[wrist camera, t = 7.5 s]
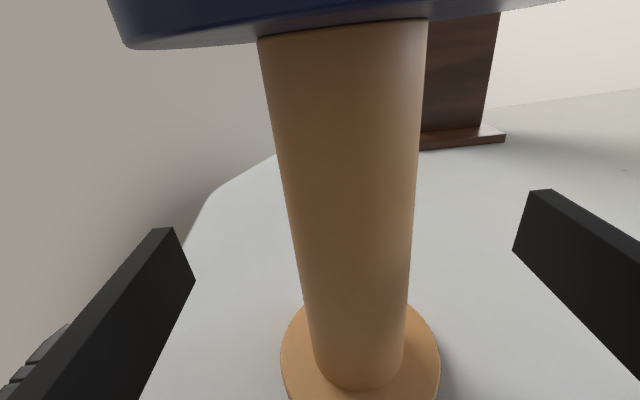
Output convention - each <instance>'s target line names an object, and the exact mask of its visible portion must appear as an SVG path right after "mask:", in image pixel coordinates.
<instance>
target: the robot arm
mask: <svg viewBox="0 0 640 400" xmlns="http://www.w3.org/2000/svg"><path fill="white" fill-rule="evenodd" d="M512 251H513V252H514V253H515V254H516V255H517V256H518V257H519V258H520V259H521V260H522V261H523V262H524V263H525V264H526V265H527V266H528V268H529V269H530V270H531V271H532V272H533V273H534V274H535V275H536V276H537V277H538V278H539V279H540V280H541V281H542V282H543V283H544V284H545V285H546V286H547V287H548V288H549V289H550V290H551V291H552V292H553V293H554V294H555V295H556V296H557V297H558V298H559V299H560V300H561V301H562V302H563V303H564V304H565V305H566V306H567V307H568V308H569V310H570V311H571V312H572V313H573V314H574V315H575V316H576V317H577V318H578V319H579V320H580V321H581V322H582V323H583V324H584V325H585V326H586V327H587V328H588V329H589V330H590V331H591V332H592V333H593V334H594V335H595V336H596V337H597V338H598V339H599V340H600V341H601V342H602V343H603V344H604V345H605V346H606V347H607V348H608V349H609V350H610V351H611V353H612V354H613V355H614V356H615V357H616V358H617V359H618V360H619V361H620V362H621V363H622V364H623V365H624V366H625V367H626V368H627V369H628V370H629V371H630V372H631V373H632V374H633V375H634V376H635V377H636V378H637V379H638V380H639V381H640V242H639V241H637V240H636V239H634V238H632V237H631V236H629V235H627V234H626V233H624V232H622V231H621V230H619V229H617V228H616V227H614V226H612V225H611V224H609V223H607V222H606V221H604V220H602V219H601V218H599V217H597V216H596V215H594V214H592V213H591V212H589V211H587V210H586V209H584V208H583V207H581V206H579V205H578V204H576V203H574V202H573V201H571V200H569V199H568V198H566V197H564V196H563V195H561V194H559V193H558V192H556V191H554V190H553V189H543V190H533V191H530V192H529V195H528V198H527V202H526V205H525V208H524V212H523V215H522V218H521V221H520V225H519V228H518V231H517V235H516V238H515V241H514V245H513V248H512ZM195 282H196V279H195V277H194V275H193V272H192V270H191V268H190V266H189V263H188V261H187V259H186V256H185V254H184V252H183V249H182V247H181V245H180V242H179V240H178V238H177V236H176V233H175V231H174V229H173V227H165V228H155V229H152V230H151V231H150V232H149V234H148V235H147V236H146V237H145V238H144V239H143V240H142V242H141V243H140V244H139V245H138V246H137V247H136V249H135V250H134V251H133V252H132V253H131V254H130V256H129V257H128V258H127V259H126V260H125V261H124V263H123V264H122V265H121V266H120V267H119V268H118V270H117V271H116V272H115V273H114V274H113V275H112V277H111V278H110V279H109V280H108V281H107V282H106V284H105V285H104V286H103V287H102V288H101V289H100V291H99V292H98V293H97V294H96V295H95V296H94V298H93V299H92V300H91V301H90V302H89V303H88V305H87V306H86V307H85V308H84V309H83V310H82V312H81V313H80V314H79V315H78V317H76V319H75V320H74V321H73V322H72V323H71V324H66V325H64V326H63V327H62V328H61V329H59V330H58V331H57V332H55V333H54V334H53V335H52V336H50V337H49V338H48V339H47V340H45V341H44V342H43V343H42V344H41V346H39V348H38V349H37V350H36V351H35V352H34V353H33V354H32V355H31V357H30V358H29V359H28V360H27V361H26V364H25V366H23V367H21V368H20V369H19V370H18V371H17V372H16V373H15V374H14V376H13V377H12V378H11V379H10V380H9V381H10V382H9V384H8V385H5V386H4V387H3V388H2V389H1V390H0V400H139V397H140V395H141V393H142V391H143V389H144V387H145V385H146V383H147V381H148V379H149V377H150V375H151V373H152V371H153V369H154V366H155V364H156V362H157V360H158V358H159V356H160V354H161V352H162V350H163V348H164V346H165V344H166V342H167V340H168V338H169V335H170V333H171V331H172V329H173V327H174V325H175V323H176V321H177V319H178V317H179V315H180V313H181V311H182V309H183V307H184V304H185V302H186V300H187V298H188V296H189V294H190V292H191V290H192V288H193V286H194V284H195Z"/></svg>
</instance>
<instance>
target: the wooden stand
mask: <svg viewBox="0 0 640 400" xmlns="http://www.w3.org/2000/svg"><path fill="white" fill-rule="evenodd" d="M500 16H501V12H496V13H489V14H483V15H476V16H469V17H462V18H455V19H448V20H441V21H434V22H429V23H428V36H427V49H426V62H425V75H424V88H423V101H422V114H421V127H420V140H419V151H420V150H430V149H439V148H449V147H458V146H467V145H477V144H486V143H496V142H504V141H505V137H506V134H505V133H503V132H501V131H499V130H496V129H494V128H492V127H490V126H488V125H485V124H483V123H481V120H482V115H483V109H484V104H485V98H486V93H487V87H488V82H489V76H490V71H491V65H492V60H493V54H494V48H495V43H496V37H497V31H498V26H499V21H500Z"/></svg>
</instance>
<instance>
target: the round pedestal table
mask: <svg viewBox="0 0 640 400" xmlns="http://www.w3.org/2000/svg"><path fill="white" fill-rule="evenodd" d="M559 1H564V0H107V3H108V5H109V8H110V11H111V13H112V15H113V18H114V21H115V23H116V26H117V29H118V31H119V34H120V36H121V38H122V41H123V43H124V44H125V45H126V47H128V48H130V49H134V50H167V49H183V48H198V47H210V46H222V45H234V44H245V43H255V42H256V44H257V49H258V55H259V60H260V65H261V71H262V76H263V82H264V87H265V92H266V98H267V104H268V109H269V114H270V120H271V125H272V131H273V136H274V142H275V147H276V153H277V158H278V163H279V169H280V174H281V180H282V185H283V191H284V196H285V202H286V207H287V212H288V218H289V223H290V229H291V234H292V240H293V245H294V250H295V256H296V261H297V267H298V272H299V278H300V283H301V288H302V294H303V299H304V306H303V307H302V308H301V309H300V310H299V311H298V312H297V313H296V315H295V316H294V317H293V319H292V320H291V322H290V324H289V325H288V328H287V330H286V332H285V335H284V338H283V341H282V346H281V353H280V364H281V373H282V377H283V381H284V385H285V388H286V391H287V394H288V396H289V399H290V400H435V399H436V396H437V391H438V387H439V382H440V372H441V364H440V355H439V350H438V346H437V344H436V341H435V338H434V336H433V334H432V332H431V330H430V328H429V327H428V325H427V324H426V322H425V321H424V319H423V318H422V317H421V316H420V315H419V313H418V312H417V311H416V310H415V309H414V308H412V307H411V306H410V305H409V304H407V297H408V284H409V271H410V258H411V245H412V232H413V219H414V206H415V193H416V179H417V166H418V153H419V140H420V127H421V114H422V101H423V88H424V75H425V62H426V49H427V36H428V23H429V22H434V21H441V20H448V19H455V18H462V17H469V16H476V15H483V14H489V13H496V12H502V11H509V10H515V9H521V8H527V7H532V6H538V5H544V4H548V3H554V2H559Z"/></svg>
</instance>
